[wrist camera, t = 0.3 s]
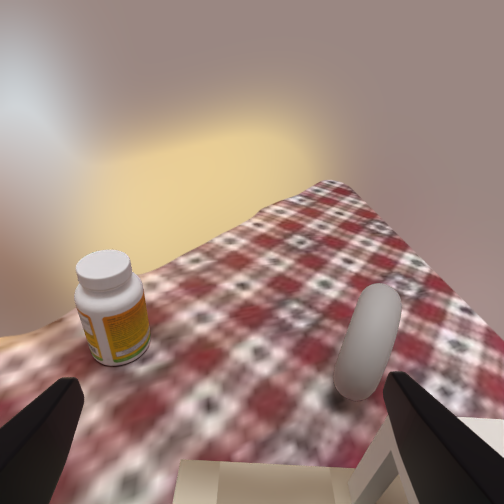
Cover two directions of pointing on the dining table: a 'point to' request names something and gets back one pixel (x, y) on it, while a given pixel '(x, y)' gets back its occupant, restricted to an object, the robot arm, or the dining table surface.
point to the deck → (269, 484)
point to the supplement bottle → (112, 307)
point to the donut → (368, 342)
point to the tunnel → (390, 463)
